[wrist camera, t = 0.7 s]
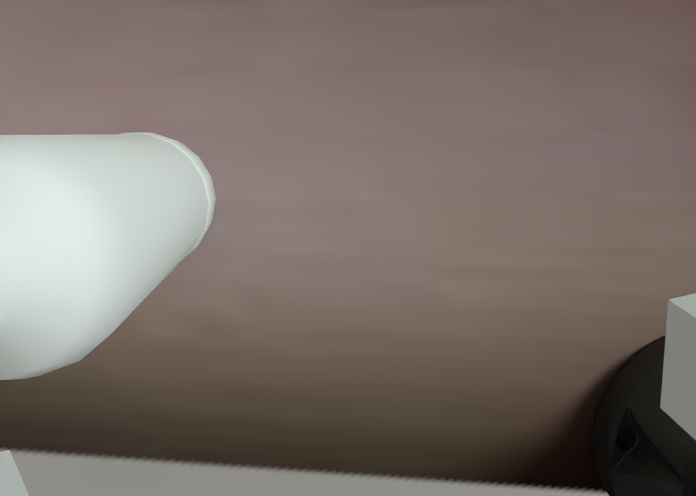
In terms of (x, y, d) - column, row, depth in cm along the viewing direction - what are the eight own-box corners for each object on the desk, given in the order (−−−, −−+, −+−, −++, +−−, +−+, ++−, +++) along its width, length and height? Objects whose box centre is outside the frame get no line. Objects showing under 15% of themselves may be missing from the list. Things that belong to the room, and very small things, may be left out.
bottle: (116, 279, 40) (-403, 686, 11) (62, 160, 39) (-715, 244, 9) (237, 235, 40) (55, 516, 11) (188, 113, 39) (-182, 47, 9)
